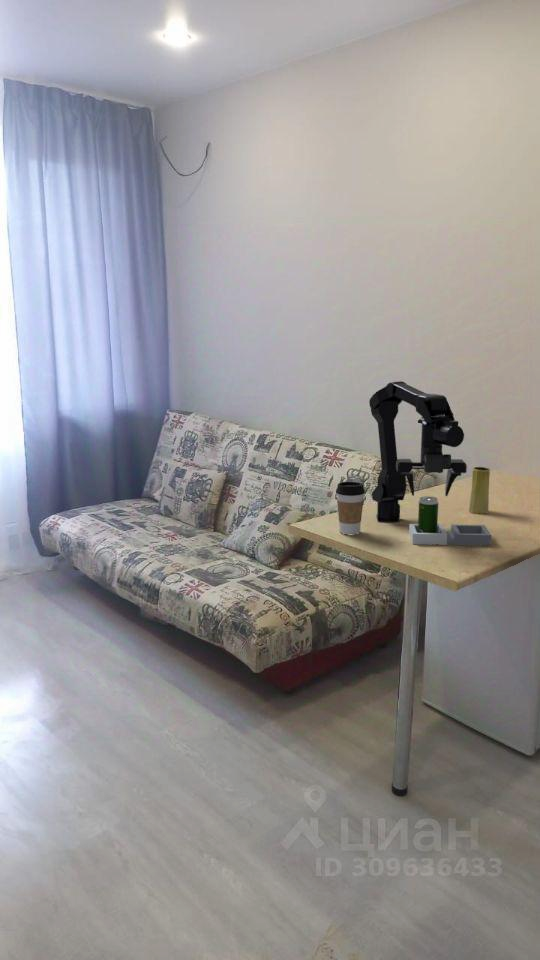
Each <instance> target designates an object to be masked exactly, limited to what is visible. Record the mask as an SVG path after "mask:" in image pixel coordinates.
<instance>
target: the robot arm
mask: <svg viewBox="0 0 540 960" xmlns="http://www.w3.org/2000/svg"><path fill="white" fill-rule="evenodd" d="M368 402H369V407H370V412H371V415H372V418H374V420H375V421H376V422H377V431H378V440H379V451H380V453H379V454H380V462H381V470H380V472H379V474H378V476H377V486H375V488H374V490H373V491H372V492H371V497H372V501H374V502H377V505H376V506H377V507H376V520H377V522H380V523H381V522H384V523H385V522H389V523H390V522H392V523H394V522H395V523H397V522H398V523H399V522H400V521H399V520H400V518H401V505H400V503H399V501H404V499H405V495H406V492H407V486H408V485H409V488H410V493H411V496H412V497H414V496H415V486H414V473H413V470H424V472H425V473H427V474H432V473H438V474H442V473H444V470H447V472H446V480H445V488H444V489H445V490H444V491H445V493H444V494H445V497H448V496H449V493H450V490H451V488H452V485H453V484H454V481H455V479H457V478H458V476H459V477H461V476H462V474H467V470H468V469H467V468H468V467H467V466H468V465H467V463H466V462H465V461H464V460H463V459H461V458H457V459H456V458H455V459H454V458H452V454H451V453H450V454H449V453H448V454H447V453H445V454H444V453H443V445H444V446H447V447H450V448H457V447H459V446H460V445H461V444H462V443H463V442H464V439H465V433H464V430H463V428H462V427H460V426H459V421H458V420H455V417H454V416H455V415H454V413H453V412H452V409H451V406H450V404H449V402H448V399H447V397H446V396H445V395H443V394H438V393H437V394H436V393H426V392H424V391H422V390H420V389H417V388H416V387H413V386H411V385H409V384H407V383H406V382H404V381H402V380H401V381H400V380H399V381H391V382H389V383H387V384H386V386H384V387H382V388H381V389H379V390H377V391H376V392H375V393H373V394H372V395H371V397H370V398H369V401H368ZM402 402H405V403H407V404H409V405H411V406H413V407H414V408H415V411H416V412H417V414H419V415H420V416H421V417H420V418H419V419H418V420H417V423H418V424H421V437H420V446H421V447H420V462H418V461H417V462H416V461H415V462H413V461H412V459H411V458H398V452H397V440H396V430H395V419H396V418H397V416H398V413H399V405H401V403H402ZM407 481H408V485H407Z"/></svg>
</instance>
